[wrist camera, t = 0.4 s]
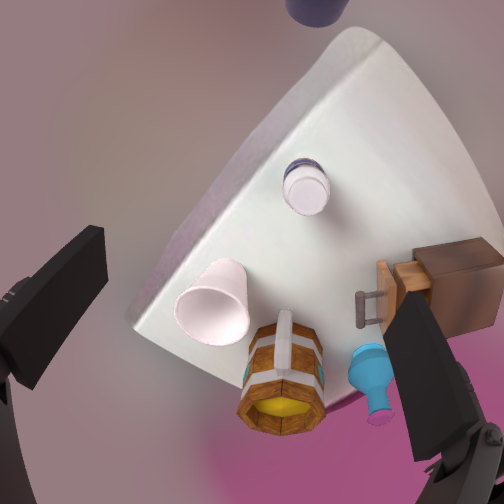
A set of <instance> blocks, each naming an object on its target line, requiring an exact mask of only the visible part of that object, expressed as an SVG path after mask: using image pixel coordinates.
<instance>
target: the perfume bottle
mask: <svg viewBox="0 0 504 504" xmlns="http://www.w3.org/2000/svg"><path fill="white" fill-rule="evenodd" d="M393 377H394V373H393V369H392V366H391V362H390V359H389V355H388V353H387V351H385V349H384V348H383V347H382V346H381V345H379V344H368V345H364V346H362V347H360V348H359V349H357V350H356V351H355V353H354V354H353V357H352V362H351V365H350V368H349V372H348V380H349V383H350V384H351V385H352V386H353V387H355V388H356V389H358V390H359V391H361V392H362V393H364V394H365V395H367V401H368V407H369V417H368V419H367V422H368V423H370V424H371V425H374V426H380V425H384V424H386V423H388V422H389V421H391V419H392V418H393V416H394V412H393V411H392V410H391V408H390V406H389V400H388V396H387V391H386V389H387V388H388V386H389V384H390V382H391V381H392V379H393Z"/></svg>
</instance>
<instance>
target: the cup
mask: <svg viewBox="0 0 504 504" xmlns="http://www.w3.org/2000/svg"><path fill="white" fill-rule="evenodd" d="M174 311H175V317H176V320H177V322H178V324H179V326H180V327H181V328H182V329H183V331H184V332H185V333H186V334H188V335H189V336H190V337H192V338H193V339H195V340H197V341H199V342H201V343H204V344H207V345H212V346H226V345H231V344H234V343H236V342H238V341H240V340H241V339H242V338H243V337H244V336H245V335H246V333H247V332H248V329H249V326H250V318H249V314H248V303H247V276H246V272H245V270H244V268H243V267H242V265H241V264H239V263H238V262H237V261H235V260H232V259H228V258H221V259H217V260H215V261H214V262H212V263H211V264H210V265H209V267H208V268H207V269H206V270H205V271H204V272H203V273H202V274H201V275H200V276H199V277H198V279H197V280H196V281H195V282H194V283H193V284H192V285H191V286H190V287H189V288H188V289H187V290H185V291H184V292H182V293H181V294H180V296H179V297H178V298H177V300H176V303H175V307H174Z"/></svg>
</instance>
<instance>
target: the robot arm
mask: <svg viewBox="0 0 504 504" xmlns="http://www.w3.org/2000/svg"><path fill="white" fill-rule="evenodd" d="M107 282H108V273H107V264H106V251H105V237H104V228H102V227H97V226H93V225H89V226H87V227H86V228H85V229H84V230H83V231H82V232H81V233H79V234H78V235H77V236H76V237H75V238H73V239H72V240H71V241H70V242H69V243H68V244H67V245H65V247H63V248H62V249H61V250H60V251H59V252H58V253H57V254H56V255H54V256H53V257H52V258H51V259H50V260H49V261H48V262H47V263H46V264H45V265H44V266H43V267H42V268H41V269H40V270H38V271H37V273H35V274H34V275H33V276H32V277H31V278H30V277H26V278H24V279H23V280H21V281H19V282H17V283H16V284H15V285H14V286H13V287H12V288H11V289H10V290H9V292H8V293H6V294H5V295H4V296H3V297H2V300H0V504H37V503H36V500H35V497H34V494H33V491H32V488H31V485H30V482H29V479H28V475H27V472H26V468H25V465H24V461H23V457H22V453H21V449H20V444H19V439H18V435H17V430H16V424H15V418H14V412H13V405H12V398H11V389H10V382H9V379H8V375H9V374H10V372H12V374H13V376H14V377H15V379H16V381H17V382H19V383H20V384H22V385H24V386H25V387H27V388H29V389H31V390H33V389H34V387H35V386H36V384H37V382H38V381H39V379H40V377H41V376H42V374H43V373H44V371H45V369H46V368H47V366H48V365H49V363H50V362H51V360H52V358H53V357H54V356H55V354H56V353H57V351H58V350H59V348H60V347H61V345H62V344H63V342H64V341H65V339H66V338H67V336H68V335H69V333H70V332H71V331H72V329H73V328H74V326H75V325H76V324H77V322H78V320H79V319H80V318H81V317H82V315H83V314H84V313H85V311H86V310H87V308H88V307H89V306H90V304H91V303H92V302H93V300H94V299H95V298H96V296H97V295H98V294H99V292H100V291H101V290H102V288H103V287H104V286H105V285H106V283H107ZM383 339H384V342H385V345H386V349H387V352H388V355H389V359H390V362H391V366H392V369H393V373H394V376H395V380H396V384H397V387H398V391H399V395H400V399H401V403H402V407H403V411H404V415H405V419H406V424H407V428H408V433H409V437H410V442H411V447H412V452H413V457H414V462H417V461H423V460H430V459H431V458H433V457H434V456H436V455H437V454H438V453H440V452H441V456H442V458H441V459H439V460H438V461H436V462H435V463H434V464H432V465H431V466H429V467H428V468H427V469H426V470H425V471H424V472H425V473H427V472H428V471H430V470H431V469H433V468H434V469H433V471H432V472H431V473H430V474H429V475H430V477H429V479H428V481H427V483H426V485H425V487H424V489H423V491H422V493H421V494H420V496H419V498H418V500H417V502H416V503H415V504H504V482H502V483H500V484H497V479H499V478H500V477H502V476H503V475H504V435H503V433H502V432H501V430H500V428H499V427H498V426H497V425H496V424H494V423H491V422H490V423H487V422H486V419H485V417H484V414H483V411H482V409H481V406H480V403H479V401H478V398H477V396H476V394H475V392H474V388H473V386H472V384H470V382H471V381H470V379H469V377H468V374H467V372H466V370H465V369H464V368H463V367H462V366H461V364H460V363H459V362H456V360H455V357H454V355H453V354H452V351H451V349H450V347H449V345H448V343H447V340H446V338H445V336H444V334H443V332H442V330H441V328H440V326H439V324H438V322H437V320H436V319H435V317H434V315H433V313H432V311H431V309H430V307H429V305H428V303H427V302H426V300H425V298H424V296H423V294H422V293H418V292H413V291H408V292H407V294H406V296H405V298H404V300H403V302H402V304H401V305H400V307H399V309H398V311H397V312H396V314H395V316H394V318H393V319H392V321H391V323H390V325H389V326H388V328H387V330H386V331H385V333H384V335H383Z"/></svg>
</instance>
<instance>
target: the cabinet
mask: <svg viewBox="0 0 504 504" xmlns="http://www.w3.org/2000/svg"><path fill="white" fill-rule="evenodd" d="M412 261H418V262H419V264H420V265H421V267H422V268H423V270H424V271H425V273H426V274H427V276H428V278H429V279H430V281H431V286H430V294H429V302H428V305H429V307H430V309H431V311H432V313H433V315H434V317H435V319H436V320H437V322H438V324H439V326H440V328H441V330H442V332H443V334H444V336H445V338H446V339H447V338H450V337H455V336H458V335H462V334H466V333H469V332H473V331H476V330H480V329H483V328H486V327H490V326H493V325H494V321H495V318H496V315H497V312H498V308H499V305H500V301H501V297H502V293H503V290H504V257H503V256H502V255H501V254H500V253H499V252H497V251H496V250H495V249H494V248H493V247H492V246H491V245H490V244H489V243H488V242H487V241H486V240H484V239H483V238H476V239H470V240H464V241H458V242H452V243H446V244H440V245H434V246H428V247H422V248H415V249H413V256H412Z"/></svg>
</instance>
